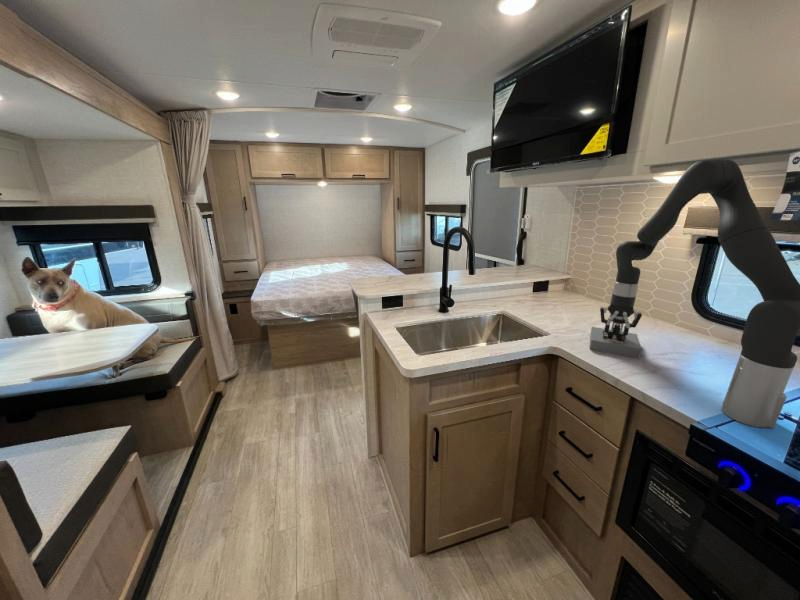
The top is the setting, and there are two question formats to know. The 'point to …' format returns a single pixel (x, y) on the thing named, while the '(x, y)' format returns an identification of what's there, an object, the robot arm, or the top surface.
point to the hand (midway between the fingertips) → (615, 334)
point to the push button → (616, 329)
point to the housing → (615, 343)
